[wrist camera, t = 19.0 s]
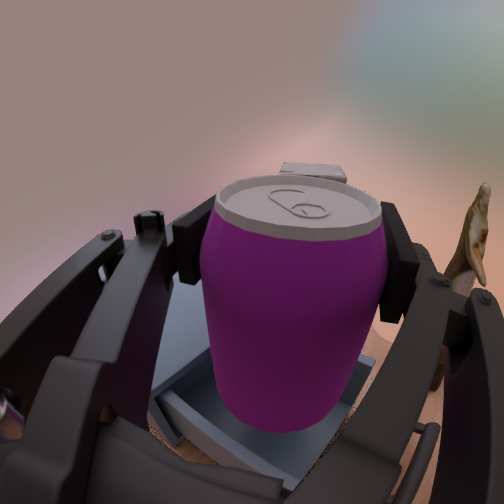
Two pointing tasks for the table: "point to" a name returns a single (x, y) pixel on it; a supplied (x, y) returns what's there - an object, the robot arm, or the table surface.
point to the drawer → (269, 443)
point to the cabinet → (177, 349)
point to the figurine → (467, 259)
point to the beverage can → (289, 294)
